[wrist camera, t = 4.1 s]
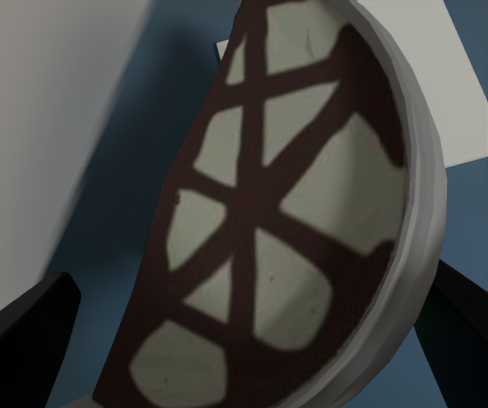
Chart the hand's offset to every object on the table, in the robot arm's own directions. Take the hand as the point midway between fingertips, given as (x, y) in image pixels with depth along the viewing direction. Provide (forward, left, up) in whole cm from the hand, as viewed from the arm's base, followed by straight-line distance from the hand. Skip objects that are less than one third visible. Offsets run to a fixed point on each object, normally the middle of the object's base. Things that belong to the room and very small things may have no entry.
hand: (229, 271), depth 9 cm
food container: (-1, -4, -7) cm, 8 cm away
